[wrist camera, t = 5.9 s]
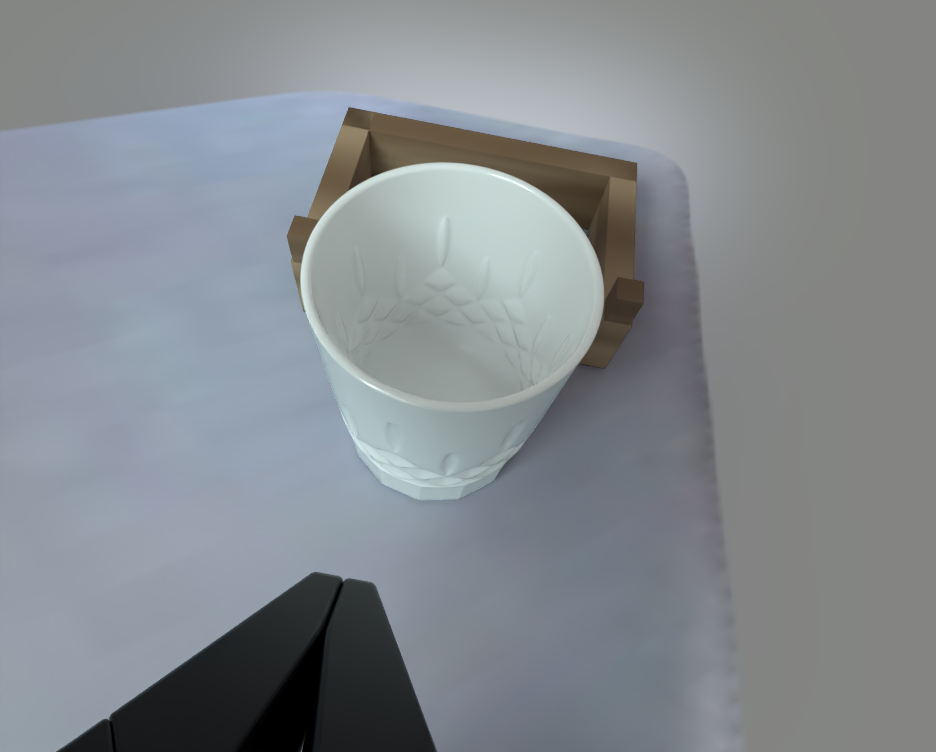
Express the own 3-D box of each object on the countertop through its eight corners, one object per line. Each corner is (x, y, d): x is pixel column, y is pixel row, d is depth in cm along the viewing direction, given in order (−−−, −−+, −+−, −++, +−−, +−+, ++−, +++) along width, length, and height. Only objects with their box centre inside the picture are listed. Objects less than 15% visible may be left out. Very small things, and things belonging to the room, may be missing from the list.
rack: (604, 368, 26) (646, 304, 22) (303, 311, 26) (284, 235, 22) (613, 216, 31) (649, 136, 26) (354, 166, 30) (346, 77, 26)
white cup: (518, 536, 23) (594, 440, 14) (312, 496, 22) (255, 373, 14) (540, 357, 26) (612, 191, 17) (364, 322, 26) (346, 137, 17)
